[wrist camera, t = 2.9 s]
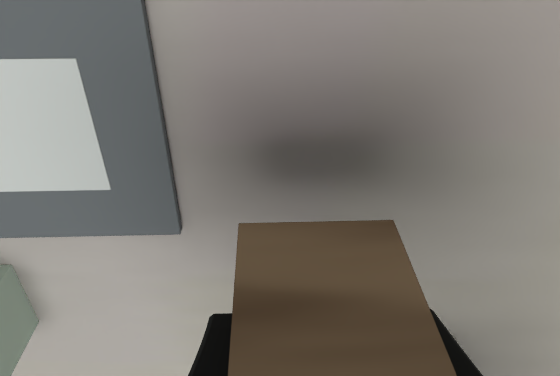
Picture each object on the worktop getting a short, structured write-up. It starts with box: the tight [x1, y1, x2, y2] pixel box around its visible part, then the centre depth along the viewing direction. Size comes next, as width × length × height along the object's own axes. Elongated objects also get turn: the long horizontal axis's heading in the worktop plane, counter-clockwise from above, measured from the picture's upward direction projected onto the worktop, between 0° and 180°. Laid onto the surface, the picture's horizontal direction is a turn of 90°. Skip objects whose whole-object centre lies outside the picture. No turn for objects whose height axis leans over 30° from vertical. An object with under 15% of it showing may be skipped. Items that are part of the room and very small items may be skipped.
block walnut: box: [228, 220, 457, 376], centre depth 10 cm, size 4×4×5 cm
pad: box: [0, 0, 182, 238], centre depth 16 cm, size 10×10×1 cm
